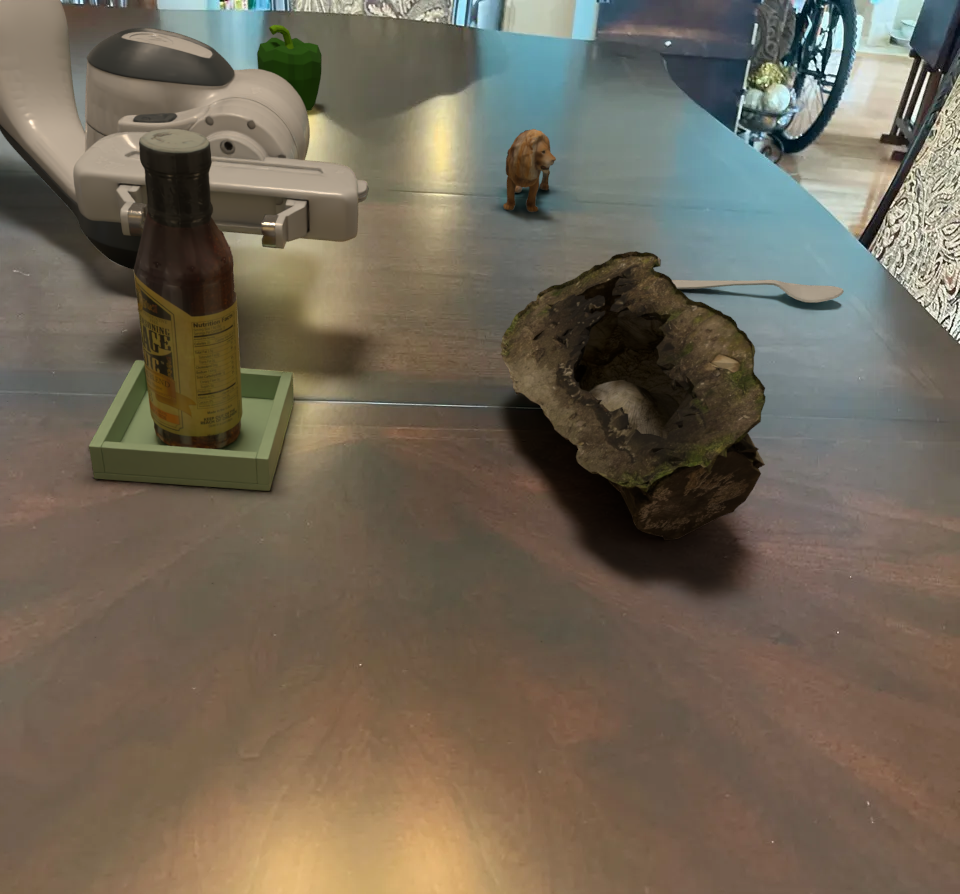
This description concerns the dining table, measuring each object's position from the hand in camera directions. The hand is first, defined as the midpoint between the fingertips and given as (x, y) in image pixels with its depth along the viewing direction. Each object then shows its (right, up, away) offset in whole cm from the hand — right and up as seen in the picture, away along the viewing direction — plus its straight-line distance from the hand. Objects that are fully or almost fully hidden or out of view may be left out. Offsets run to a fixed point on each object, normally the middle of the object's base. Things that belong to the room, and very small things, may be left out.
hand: (202, 231), depth 71 cm
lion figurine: (+24, +22, +49) cm, 59 cm away
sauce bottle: (-1, -14, +3) cm, 14 cm away
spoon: (+44, +6, +33) cm, 56 cm away
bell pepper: (-7, +43, +70) cm, 83 cm away
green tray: (-1, -13, +3) cm, 14 cm away
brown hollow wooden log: (+29, -16, +5) cm, 33 cm away
